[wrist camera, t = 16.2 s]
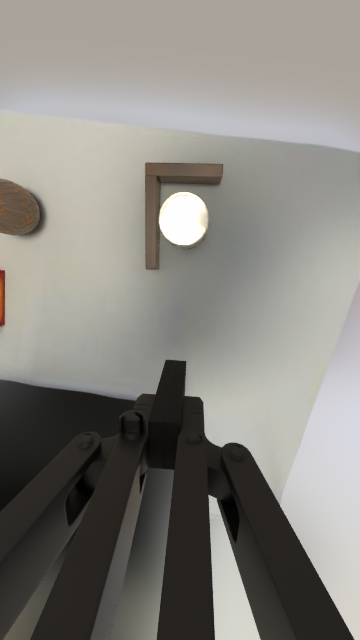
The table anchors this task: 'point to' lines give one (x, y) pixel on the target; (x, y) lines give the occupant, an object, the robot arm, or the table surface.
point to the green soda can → (184, 220)
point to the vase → (17, 209)
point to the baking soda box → (2, 296)
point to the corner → (152, 193)
